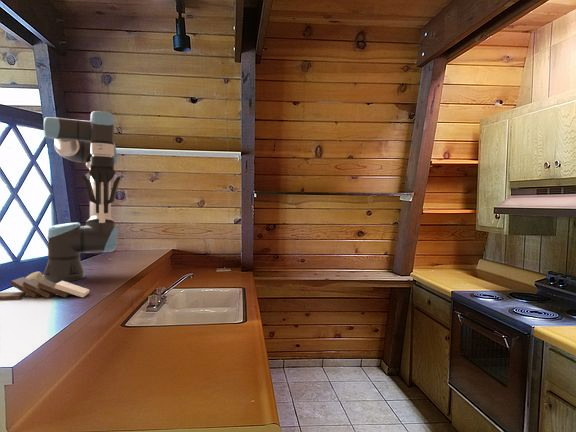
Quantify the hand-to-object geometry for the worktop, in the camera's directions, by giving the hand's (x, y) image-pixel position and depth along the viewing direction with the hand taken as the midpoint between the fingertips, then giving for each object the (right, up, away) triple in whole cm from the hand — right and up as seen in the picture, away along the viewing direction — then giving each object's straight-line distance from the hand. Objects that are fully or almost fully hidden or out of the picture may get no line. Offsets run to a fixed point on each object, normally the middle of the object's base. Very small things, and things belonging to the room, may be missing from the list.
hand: (102, 222), depth 138 cm
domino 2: (-20, -25, -3) cm, 32 cm away
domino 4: (-11, -25, -1) cm, 28 cm away
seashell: (-28, -26, +4) cm, 38 cm away
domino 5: (-6, -26, 0) cm, 26 cm away
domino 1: (-25, -25, -5) cm, 36 cm away
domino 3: (-16, -25, -2) cm, 30 cm away
